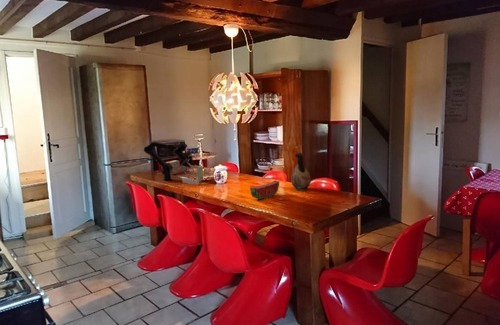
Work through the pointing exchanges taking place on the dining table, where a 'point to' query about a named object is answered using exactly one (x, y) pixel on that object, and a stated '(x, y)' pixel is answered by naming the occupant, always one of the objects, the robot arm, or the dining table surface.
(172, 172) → the stack of blocks
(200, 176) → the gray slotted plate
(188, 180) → the white rectangular bar
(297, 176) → the ceramic jug
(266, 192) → the fruit slice
